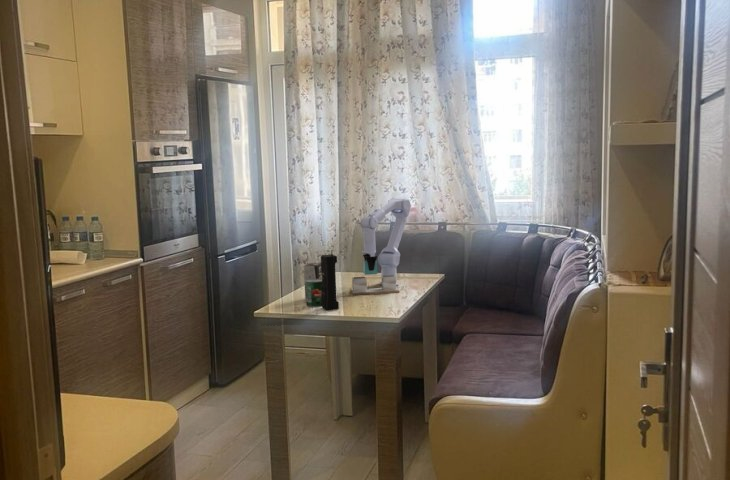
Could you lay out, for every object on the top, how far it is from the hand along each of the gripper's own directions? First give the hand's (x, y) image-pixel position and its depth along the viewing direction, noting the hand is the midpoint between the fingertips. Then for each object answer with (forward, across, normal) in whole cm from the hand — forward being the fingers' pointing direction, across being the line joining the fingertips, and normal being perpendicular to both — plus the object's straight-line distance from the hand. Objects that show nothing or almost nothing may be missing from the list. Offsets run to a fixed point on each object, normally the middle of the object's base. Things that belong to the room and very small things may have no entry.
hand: (370, 269), depth 330 cm
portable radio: (+10, +38, -25) cm, 47 cm away
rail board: (+10, +8, 0) cm, 13 cm away
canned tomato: (+10, +29, -30) cm, 43 cm away
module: (+2, 0, 0) cm, 2 cm away
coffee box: (+10, +16, -29) cm, 35 cm away
